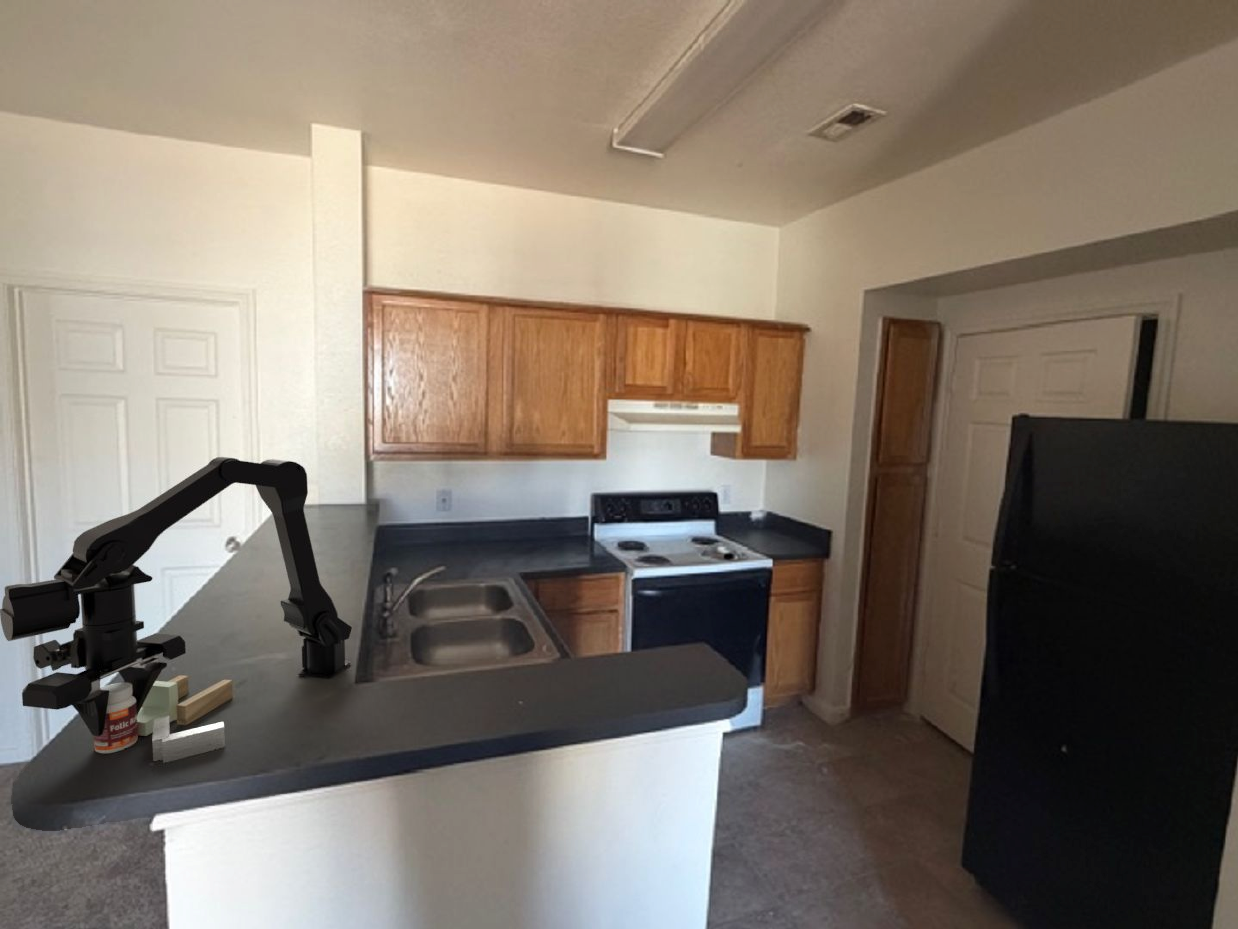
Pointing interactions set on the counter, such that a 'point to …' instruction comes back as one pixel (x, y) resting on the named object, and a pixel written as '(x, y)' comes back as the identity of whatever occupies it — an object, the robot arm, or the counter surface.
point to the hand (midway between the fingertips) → (115, 726)
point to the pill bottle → (118, 720)
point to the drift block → (157, 706)
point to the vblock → (185, 740)
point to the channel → (200, 699)
